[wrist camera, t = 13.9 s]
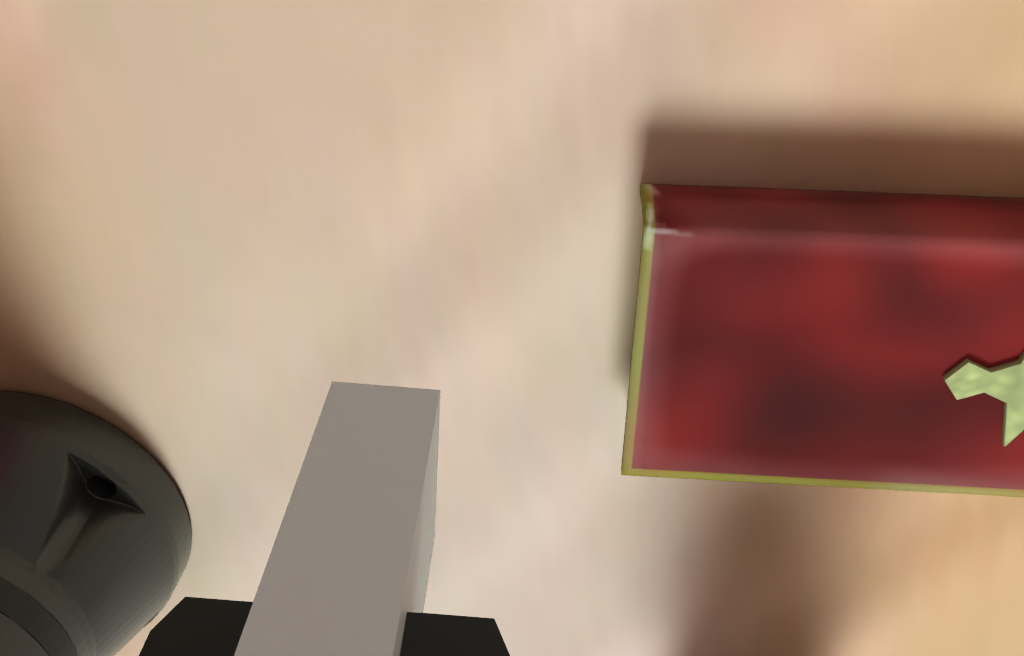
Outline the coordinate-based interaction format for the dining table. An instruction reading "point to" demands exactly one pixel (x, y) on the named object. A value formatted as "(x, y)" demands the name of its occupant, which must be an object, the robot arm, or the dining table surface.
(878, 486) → the hardcover book
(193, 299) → the dining table surface
